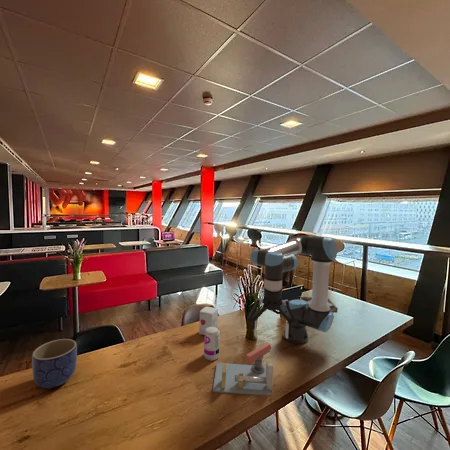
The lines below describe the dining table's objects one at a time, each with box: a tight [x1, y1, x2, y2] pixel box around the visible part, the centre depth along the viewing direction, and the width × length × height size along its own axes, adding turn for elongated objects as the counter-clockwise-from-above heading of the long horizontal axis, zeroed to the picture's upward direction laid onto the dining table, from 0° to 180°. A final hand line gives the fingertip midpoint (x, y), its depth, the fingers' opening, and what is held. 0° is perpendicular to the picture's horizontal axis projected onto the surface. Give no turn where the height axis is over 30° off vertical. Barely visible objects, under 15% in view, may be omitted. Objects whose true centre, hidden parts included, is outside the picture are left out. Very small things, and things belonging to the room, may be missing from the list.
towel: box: [306, 300, 336, 314], centre depth 190 cm, size 15×18×8 cm
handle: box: [245, 342, 272, 365], centre depth 121 cm, size 18×5×4 cm, turn 134°
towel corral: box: [300, 296, 338, 313], centre depth 207 cm, size 25×22×3 cm
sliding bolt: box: [235, 360, 274, 391], centre depth 109 cm, size 16×3×11 cm, turn 86°
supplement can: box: [203, 326, 221, 361], centre depth 132 cm, size 8×8×15 cm
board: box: [212, 359, 272, 396], centre depth 115 cm, size 25×19×7 cm
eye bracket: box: [222, 363, 243, 390], centre depth 110 cm, size 9×6×8 cm, turn 86°
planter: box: [31, 338, 78, 389], centre depth 111 cm, size 17×17×15 cm
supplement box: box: [198, 306, 219, 336], centre depth 157 cm, size 9×9×15 cm
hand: (270, 336), depth 108 cm, fingers open, 13 cm apart
